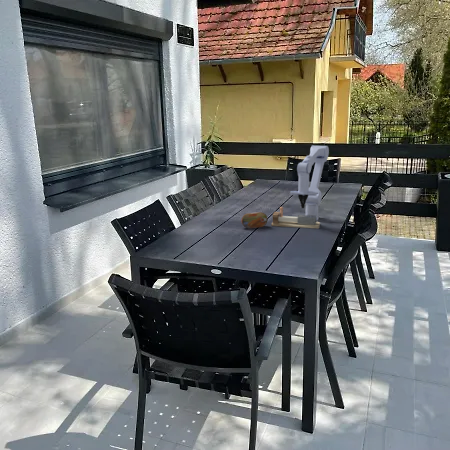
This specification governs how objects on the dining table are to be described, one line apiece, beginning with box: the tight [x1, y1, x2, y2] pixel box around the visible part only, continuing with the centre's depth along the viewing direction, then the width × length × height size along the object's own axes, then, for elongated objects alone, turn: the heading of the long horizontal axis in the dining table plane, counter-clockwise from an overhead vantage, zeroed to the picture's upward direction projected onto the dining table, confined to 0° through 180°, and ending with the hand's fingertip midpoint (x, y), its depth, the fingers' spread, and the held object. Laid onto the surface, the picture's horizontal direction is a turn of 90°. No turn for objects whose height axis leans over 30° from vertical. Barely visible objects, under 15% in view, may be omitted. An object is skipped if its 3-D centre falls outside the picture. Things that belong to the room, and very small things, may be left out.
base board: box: [270, 221, 321, 229], centre depth 264 cm, size 10×26×1 cm, turn 75°
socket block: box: [272, 211, 280, 224], centre depth 266 cm, size 7×3×5 cm, turn 165°
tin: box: [240, 211, 268, 229], centre depth 260 cm, size 15×3×8 cm, turn 105°
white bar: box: [278, 206, 298, 222], centre depth 264 cm, size 3×16×8 cm, turn 75°
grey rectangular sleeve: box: [297, 214, 317, 225], centre depth 262 cm, size 5×10×4 cm, turn 75°
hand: (302, 207), depth 262 cm, fingers closed
